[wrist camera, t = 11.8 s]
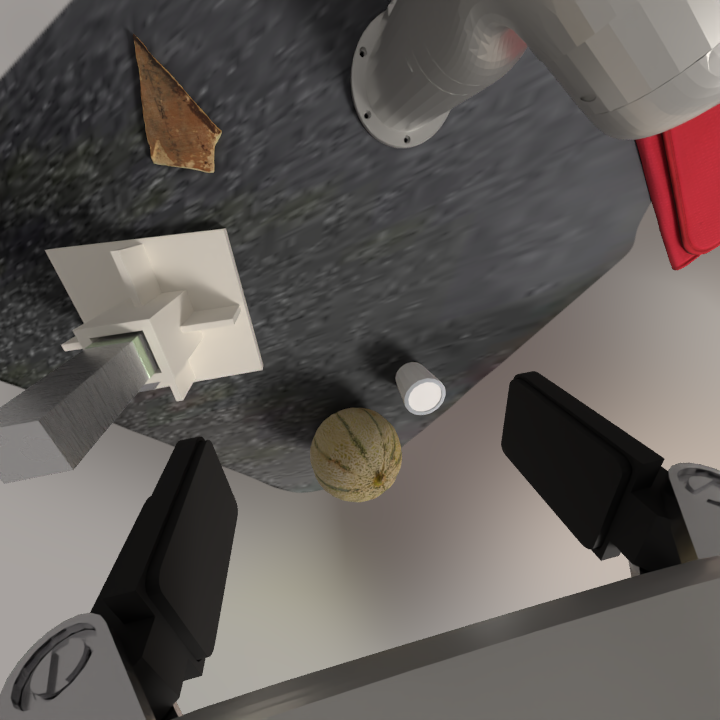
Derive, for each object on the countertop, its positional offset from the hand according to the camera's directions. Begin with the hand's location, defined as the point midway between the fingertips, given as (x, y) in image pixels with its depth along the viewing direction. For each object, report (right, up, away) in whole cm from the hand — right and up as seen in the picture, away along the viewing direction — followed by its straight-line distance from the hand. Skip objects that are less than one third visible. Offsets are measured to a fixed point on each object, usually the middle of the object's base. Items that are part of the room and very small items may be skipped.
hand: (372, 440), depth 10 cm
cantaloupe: (-2, -9, +48) cm, 49 cm away
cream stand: (-26, +9, +34) cm, 43 cm away
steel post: (-25, +5, +25) cm, 35 cm away
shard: (-22, +29, +25) cm, 44 cm away
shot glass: (+9, 0, +46) cm, 46 cm away
